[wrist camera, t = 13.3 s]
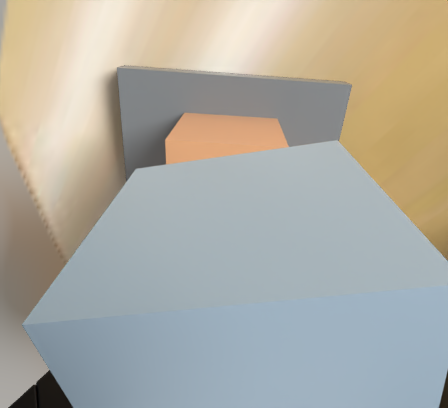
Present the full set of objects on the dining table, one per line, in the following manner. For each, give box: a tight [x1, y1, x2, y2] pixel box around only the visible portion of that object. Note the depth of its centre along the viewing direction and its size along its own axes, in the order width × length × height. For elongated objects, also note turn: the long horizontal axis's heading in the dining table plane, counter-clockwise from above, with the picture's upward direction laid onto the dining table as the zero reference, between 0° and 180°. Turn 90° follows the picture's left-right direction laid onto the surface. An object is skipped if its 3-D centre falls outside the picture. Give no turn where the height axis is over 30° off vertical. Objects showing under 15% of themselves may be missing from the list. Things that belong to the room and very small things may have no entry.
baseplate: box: [117, 65, 352, 182], centre depth 20 cm, size 12×12×1 cm
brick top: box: [22, 140, 448, 408], centre depth 8 cm, size 5×8×5 cm, turn 9°
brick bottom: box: [165, 113, 289, 165], centre depth 17 cm, size 5×8×5 cm, turn 177°
